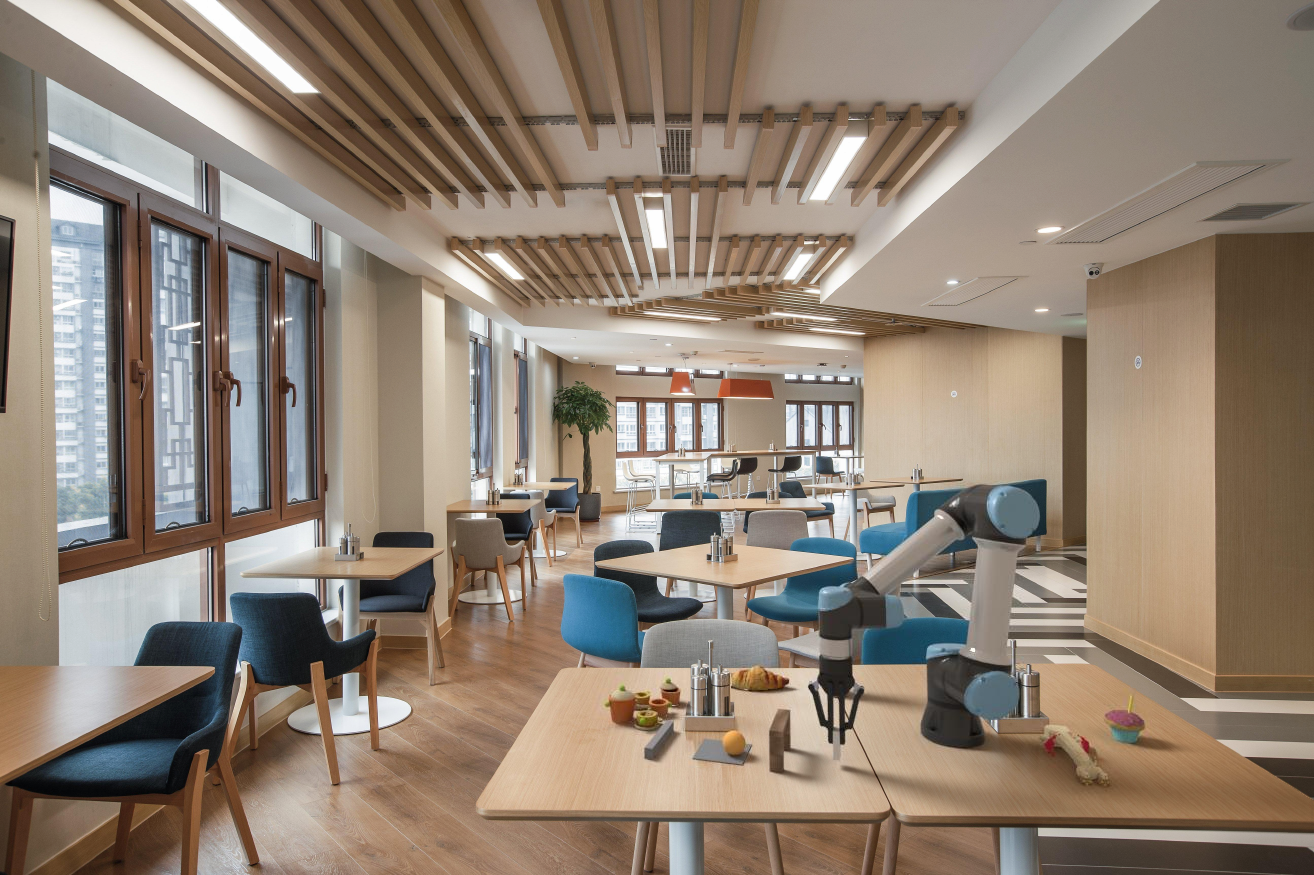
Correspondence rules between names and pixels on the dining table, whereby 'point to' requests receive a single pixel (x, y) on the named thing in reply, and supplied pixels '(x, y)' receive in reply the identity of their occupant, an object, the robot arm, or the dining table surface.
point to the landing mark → (719, 753)
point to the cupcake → (1125, 724)
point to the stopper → (658, 740)
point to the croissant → (757, 679)
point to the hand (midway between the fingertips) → (836, 757)
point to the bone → (1075, 753)
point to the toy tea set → (643, 705)
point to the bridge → (779, 740)
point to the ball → (734, 743)
